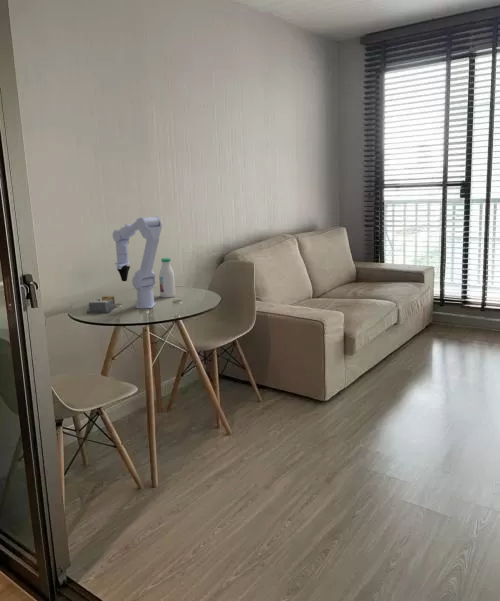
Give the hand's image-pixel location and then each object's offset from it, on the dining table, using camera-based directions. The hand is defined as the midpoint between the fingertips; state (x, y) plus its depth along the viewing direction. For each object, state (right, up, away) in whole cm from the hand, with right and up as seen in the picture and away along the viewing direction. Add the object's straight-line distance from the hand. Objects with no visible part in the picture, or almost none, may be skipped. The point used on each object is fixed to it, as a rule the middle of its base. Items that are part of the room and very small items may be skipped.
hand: (124, 280), depth 270 cm
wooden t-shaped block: (-7, -13, -9) cm, 18 cm away
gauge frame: (-7, -14, -15) cm, 22 cm away
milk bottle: (+20, -8, +12) cm, 24 cm away
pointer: (-7, -14, -18) cm, 23 cm away
